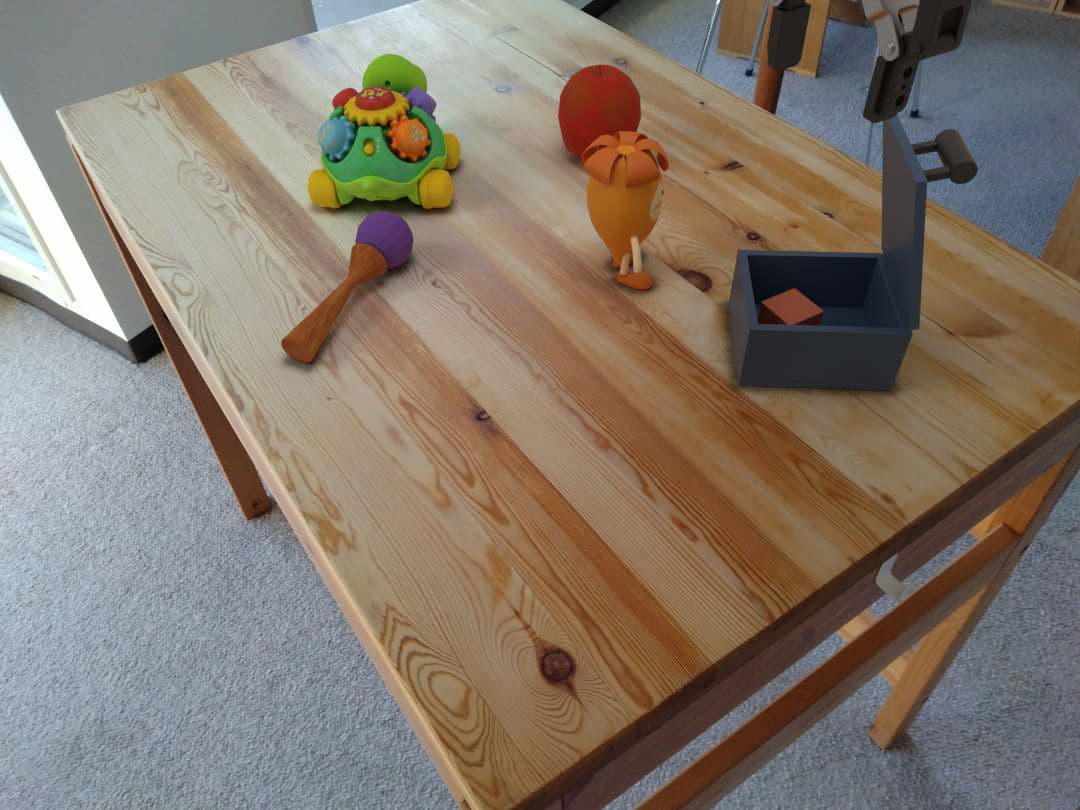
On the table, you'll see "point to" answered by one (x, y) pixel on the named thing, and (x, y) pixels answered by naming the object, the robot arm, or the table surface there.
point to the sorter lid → (913, 204)
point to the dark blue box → (844, 333)
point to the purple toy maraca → (353, 279)
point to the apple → (597, 106)
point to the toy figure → (625, 197)
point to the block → (790, 310)
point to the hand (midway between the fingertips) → (828, 90)
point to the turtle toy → (385, 142)
